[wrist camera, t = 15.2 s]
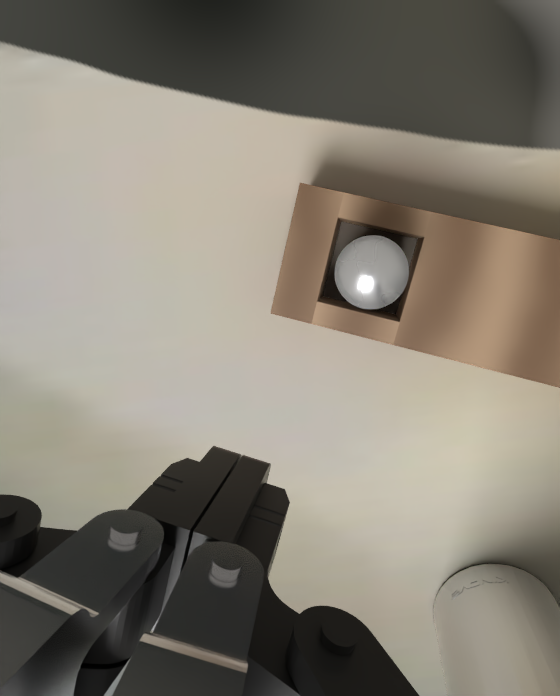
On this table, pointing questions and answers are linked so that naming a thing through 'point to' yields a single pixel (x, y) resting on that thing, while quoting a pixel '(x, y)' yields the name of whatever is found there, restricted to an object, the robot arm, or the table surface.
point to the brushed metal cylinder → (371, 272)
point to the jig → (434, 285)
